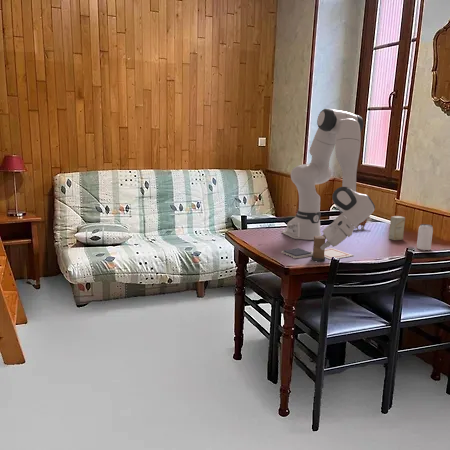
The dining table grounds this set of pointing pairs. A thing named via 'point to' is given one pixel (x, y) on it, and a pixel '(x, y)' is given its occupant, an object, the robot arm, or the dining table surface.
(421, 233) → the can
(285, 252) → the ink pad
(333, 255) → the marked board
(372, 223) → the dining table surface
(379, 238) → the dining table surface
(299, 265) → the dining table surface
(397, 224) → the skincare box
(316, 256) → the stamp
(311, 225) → the robot arm
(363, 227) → the bull figurine
